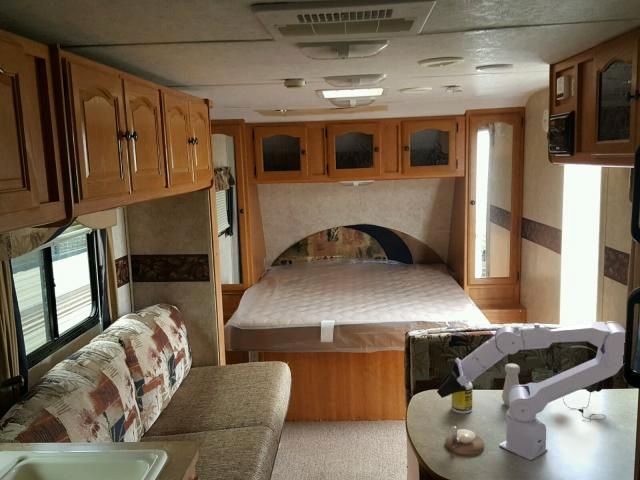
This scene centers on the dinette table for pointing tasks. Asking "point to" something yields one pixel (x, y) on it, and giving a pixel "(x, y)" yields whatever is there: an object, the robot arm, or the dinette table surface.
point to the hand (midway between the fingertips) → (441, 389)
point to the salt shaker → (510, 380)
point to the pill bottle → (463, 400)
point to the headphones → (590, 388)
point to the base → (465, 446)
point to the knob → (462, 435)
